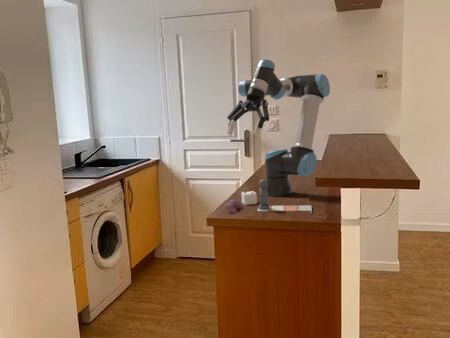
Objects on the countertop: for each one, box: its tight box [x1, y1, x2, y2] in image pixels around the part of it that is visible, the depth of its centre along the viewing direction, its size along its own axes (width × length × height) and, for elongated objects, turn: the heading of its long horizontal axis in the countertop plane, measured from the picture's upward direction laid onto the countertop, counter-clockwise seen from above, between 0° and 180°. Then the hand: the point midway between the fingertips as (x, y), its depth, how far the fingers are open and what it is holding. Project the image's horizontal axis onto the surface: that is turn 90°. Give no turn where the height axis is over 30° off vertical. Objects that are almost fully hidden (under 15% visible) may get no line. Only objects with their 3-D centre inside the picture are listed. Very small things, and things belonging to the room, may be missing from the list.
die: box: [241, 190, 258, 206], centre depth 217 cm, size 6×6×6 cm
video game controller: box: [225, 199, 245, 214], centre depth 204 cm, size 10×5×7 cm, turn 158°
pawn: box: [258, 179, 271, 210], centre depth 204 cm, size 5×5×13 cm
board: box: [256, 204, 313, 214], centre depth 203 cm, size 10×24×1 cm, turn 81°
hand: (241, 134), depth 190 cm, fingers open, 13 cm apart
